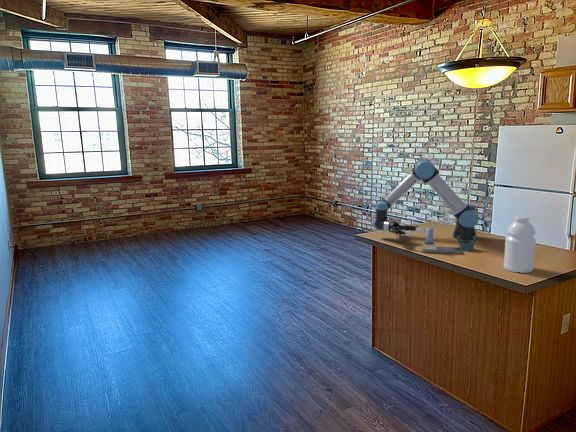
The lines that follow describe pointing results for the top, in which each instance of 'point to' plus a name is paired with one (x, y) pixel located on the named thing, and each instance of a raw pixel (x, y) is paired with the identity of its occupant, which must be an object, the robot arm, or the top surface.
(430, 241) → the peg
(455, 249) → the rail
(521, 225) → the bottle
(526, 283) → the top surface
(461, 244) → the bracket
